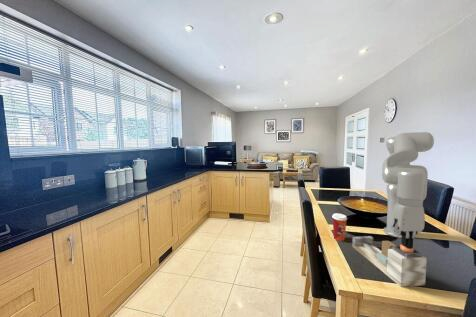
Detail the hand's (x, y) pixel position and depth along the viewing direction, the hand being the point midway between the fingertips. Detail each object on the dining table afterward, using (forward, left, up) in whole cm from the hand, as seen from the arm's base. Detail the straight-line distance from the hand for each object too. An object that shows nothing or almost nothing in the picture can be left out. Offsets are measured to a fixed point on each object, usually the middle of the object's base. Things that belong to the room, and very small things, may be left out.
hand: (406, 246), depth 75 cm
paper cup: (+7, -34, -14) cm, 38 cm away
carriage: (0, -8, -12) cm, 15 cm away
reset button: (0, 0, -3) cm, 3 cm away
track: (0, -11, -14) cm, 18 cm away
